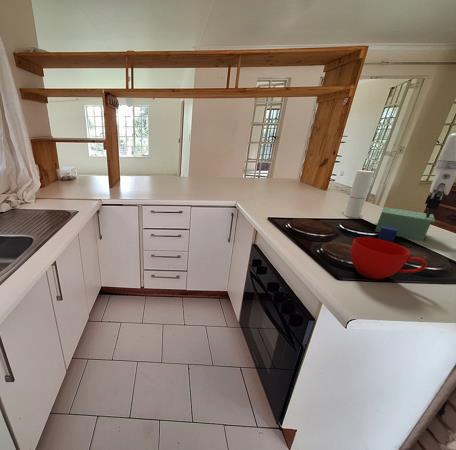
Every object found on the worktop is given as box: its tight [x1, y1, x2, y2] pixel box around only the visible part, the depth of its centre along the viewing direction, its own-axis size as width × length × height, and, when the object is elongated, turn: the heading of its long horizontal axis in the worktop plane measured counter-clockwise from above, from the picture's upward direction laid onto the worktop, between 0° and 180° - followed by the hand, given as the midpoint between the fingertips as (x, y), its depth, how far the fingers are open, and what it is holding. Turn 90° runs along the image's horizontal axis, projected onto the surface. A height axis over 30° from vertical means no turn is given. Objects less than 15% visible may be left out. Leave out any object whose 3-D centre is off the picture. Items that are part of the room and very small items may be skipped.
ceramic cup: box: [350, 236, 428, 280], centre depth 73 cm, size 13×17×10 cm
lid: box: [380, 206, 436, 223], centre depth 106 cm, size 16×13×5 cm
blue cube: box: [377, 225, 398, 243], centre depth 102 cm, size 5×5×5 cm
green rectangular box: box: [374, 214, 432, 242], centre depth 108 cm, size 16×13×9 cm
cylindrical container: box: [343, 169, 375, 219], centre depth 129 cm, size 7×7×25 cm
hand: (430, 206), depth 101 cm, fingers open, 9 cm apart
